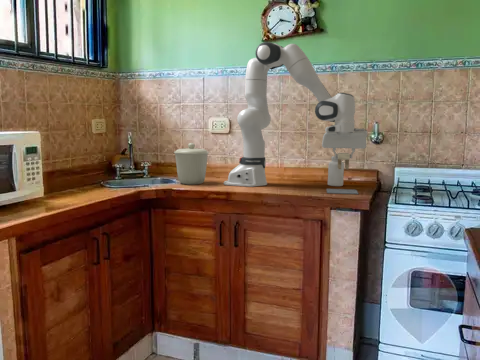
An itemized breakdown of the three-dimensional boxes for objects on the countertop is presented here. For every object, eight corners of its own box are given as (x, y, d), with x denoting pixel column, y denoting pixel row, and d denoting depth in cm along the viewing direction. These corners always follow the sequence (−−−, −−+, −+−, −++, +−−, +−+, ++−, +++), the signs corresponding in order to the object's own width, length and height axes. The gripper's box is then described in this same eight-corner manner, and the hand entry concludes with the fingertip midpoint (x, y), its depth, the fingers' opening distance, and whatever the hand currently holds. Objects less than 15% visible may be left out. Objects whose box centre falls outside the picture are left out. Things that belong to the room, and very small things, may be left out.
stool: (337, 167, 219) (337, 152, 218) (347, 167, 218) (348, 153, 217) (338, 169, 211) (338, 153, 210) (349, 169, 211) (349, 154, 210)
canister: (200, 186, 228) (200, 144, 225) (167, 184, 233) (167, 143, 230) (214, 182, 245) (214, 142, 242) (183, 180, 250) (183, 141, 248)
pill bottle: (343, 186, 234) (344, 157, 232) (327, 186, 235) (328, 156, 233) (343, 184, 241) (344, 156, 239) (327, 184, 243) (328, 155, 241)
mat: (327, 193, 212) (327, 192, 212) (326, 189, 223) (326, 188, 223) (358, 194, 209) (358, 193, 209) (355, 190, 221) (356, 189, 221)
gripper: (366, 128, 214) (365, 158, 216) (322, 127, 217) (321, 157, 219) (368, 128, 208) (367, 159, 210) (322, 128, 211) (321, 158, 213)
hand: (343, 158), depth 214 cm, fingers closed on stool, 5 cm apart
